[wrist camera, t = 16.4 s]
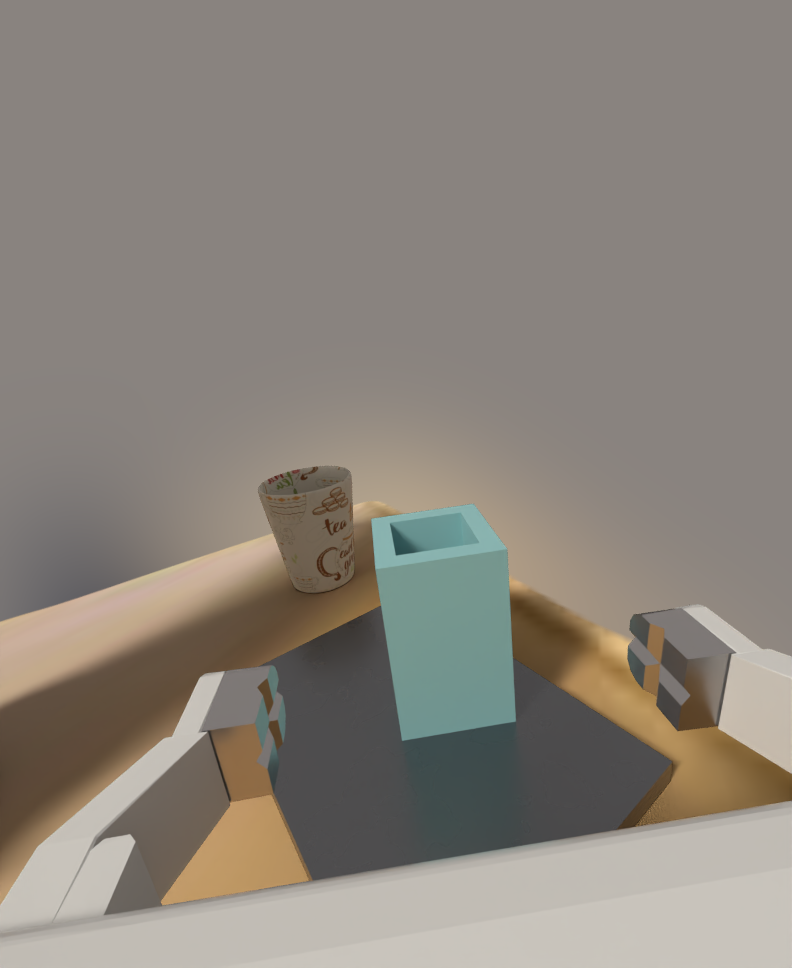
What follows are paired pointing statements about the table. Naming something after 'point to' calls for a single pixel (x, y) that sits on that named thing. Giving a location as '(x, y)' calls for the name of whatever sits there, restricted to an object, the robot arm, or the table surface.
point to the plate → (440, 765)
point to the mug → (312, 525)
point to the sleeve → (446, 619)
